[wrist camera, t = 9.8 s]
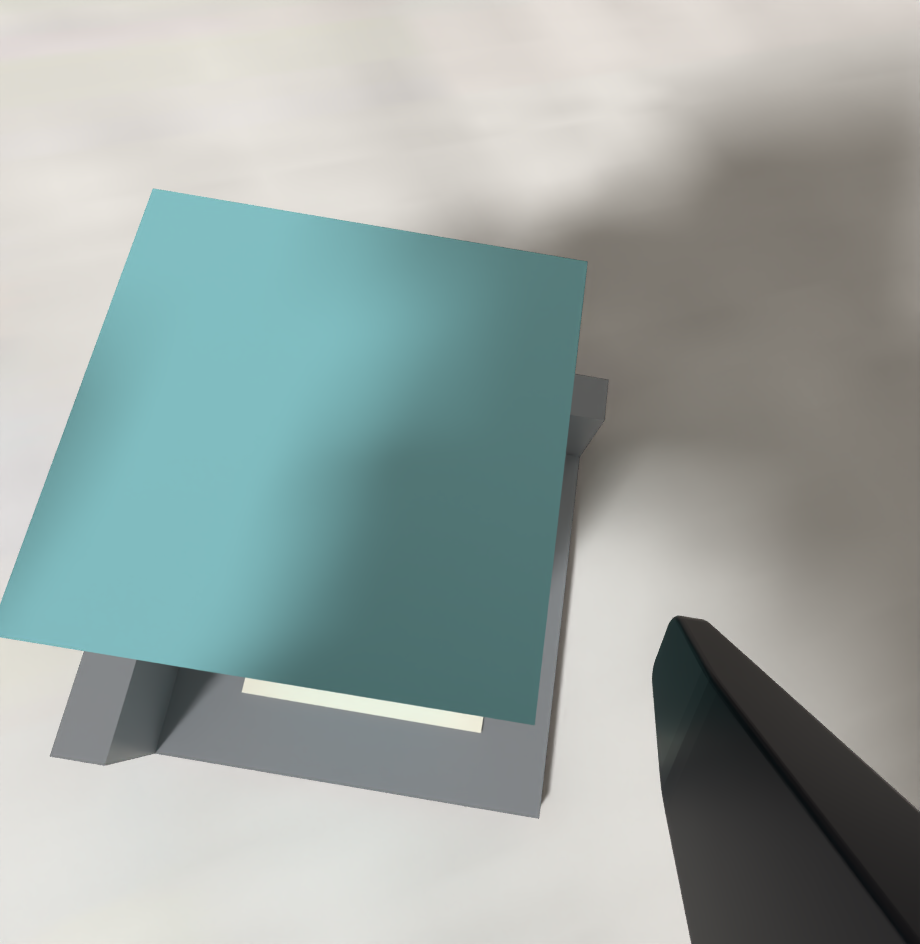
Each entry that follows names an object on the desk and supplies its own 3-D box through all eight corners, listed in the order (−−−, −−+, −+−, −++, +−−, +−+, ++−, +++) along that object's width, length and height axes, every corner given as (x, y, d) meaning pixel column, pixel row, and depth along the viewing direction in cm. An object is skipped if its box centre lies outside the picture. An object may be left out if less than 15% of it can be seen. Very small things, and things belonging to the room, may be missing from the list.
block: (459, 701, 18) (533, 725, 6) (274, 670, 18) (-12, 635, 6) (486, 521, 20) (587, 261, 8) (316, 493, 20) (153, 188, 8)
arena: (535, 814, 18) (561, 843, 15) (118, 744, 18) (49, 756, 15) (579, 427, 21) (608, 379, 18) (230, 368, 21) (195, 308, 18)
